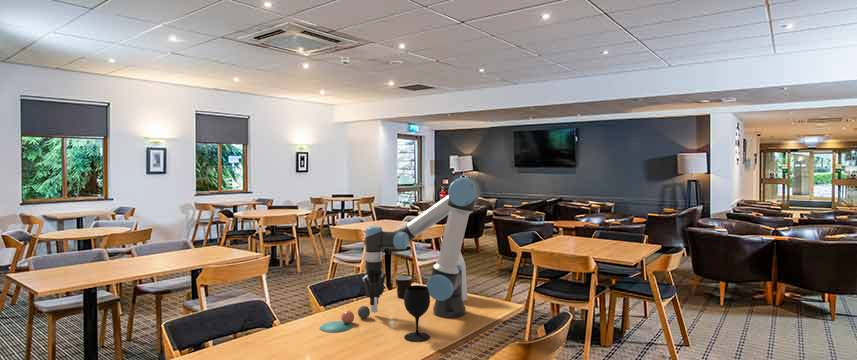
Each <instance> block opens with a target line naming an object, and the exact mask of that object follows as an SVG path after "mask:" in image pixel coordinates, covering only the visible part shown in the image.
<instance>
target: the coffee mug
mask: <svg viewBox="0 0 857 360" xmlns="http://www.w3.org/2000/svg"><path fill="white" fill-rule="evenodd" d="M412 281H413V277H412V276H409V275H407V276H406V275H400V276H396V277H395V286H396V293H397V294H396V295H397V298H398V299H401V300H402V299H403V300H404V295H405V291H406V288H407V287H409V286H412Z"/></svg>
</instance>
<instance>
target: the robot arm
mask: <svg viewBox="0 0 857 360" xmlns="http://www.w3.org/2000/svg"><path fill="white" fill-rule="evenodd" d="M481 194H482V186H481V183H480V182H479V181H478V180H477V179H476V178H474V177H472V176H465V177H462V176H461V177H458V178H455V179H454V180H453V181H452V182H451V183H450V185H449V187H448V190H447V194H446V196H444V197H443V198H442V199H440V200H439V201H437V202H436V203H435V204H433V205H432V206H430V207H429V208H428V209H426V210H425V211H423V212H422V213H420V214H419V215H417V216H416V217H415V218H413V219H412V220H411V221H410V222H408V223H406V224H405V225H403V226H402V227H400V228H399V229H396V230H395V231H383V228H382V226H379V225H377V226H376V225H373V226H372V225H371V226H367V227H366V229H365V236H364V237H365V260H366V261H365V269H366V270H365V271H366V272H365V275H364V276H363V277H361V281H362V283H363V287H364V292H365V296H366V297H367V298H369V301H370V302H369V304H370V313H378V305H379V298H381V296H382V295H383V291H384V285H385V281H386V280H385V279H386V276H387V273H383V270H382V269H383V261H382V260H383V249H391V250H392V249H395V250H406V249H407V247H408V245H409V243H410V242H412V241H413V240H414V239H416V238H417V237H418V236H420V235H421V234H423V233H424V232H425V231H427V230H428V229H430V228H432V226H434V225H436V224H437V223H439V222H440V221H441V220H443V219H444V218H446V217H447V219H446V224H445V228H444V233H443V238H442V241H441V245H440V250H439V255H438V259H437V262H436V263H434V264H433V265H432V269H431V274H430V277H429V278H428V279H427V281H426V285H425V286H426V287H428V290H429V294H430V298H432V299H433V300H435V302H434V304H433V309H432V311H433V314H434V315H435V316H438V317H439V318H440V317H442V318H449V319H450V318H460V317H463V316H465V315H466V314H467V312H466V311H467V310H466V309H467V308H466V306H465V303H464V302H465V301H463V298H462V266H461V265H460V264H457V263H458V259H459V255H460V251H461V250H462V246H463V242H464V238H465V232H466V230H467V226H468V225H467V224H468V220H469V216H470V214H473V213H474V210H475V207H476V201H478V199H479V198H480V196H481Z"/></svg>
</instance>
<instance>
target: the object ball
mask: <svg viewBox="0 0 857 360" xmlns="http://www.w3.org/2000/svg"><path fill="white" fill-rule="evenodd" d="M354 320H355V315H354V313H353V312H352V311H351V310H346V311H343V313H342V314H341V321H343V322H344V323H345V324H350V323H351V324H352V323H353V321H354Z"/></svg>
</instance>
